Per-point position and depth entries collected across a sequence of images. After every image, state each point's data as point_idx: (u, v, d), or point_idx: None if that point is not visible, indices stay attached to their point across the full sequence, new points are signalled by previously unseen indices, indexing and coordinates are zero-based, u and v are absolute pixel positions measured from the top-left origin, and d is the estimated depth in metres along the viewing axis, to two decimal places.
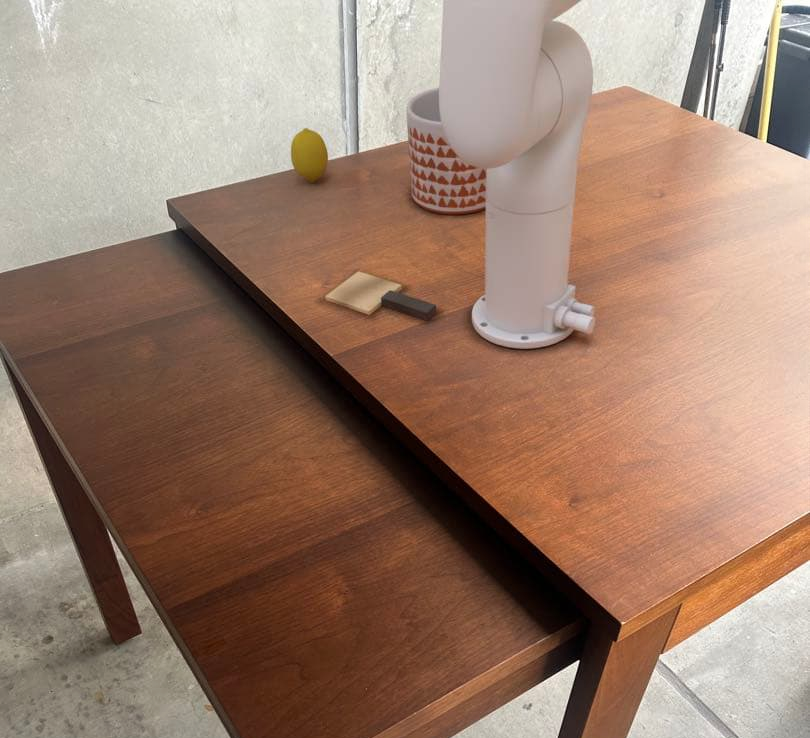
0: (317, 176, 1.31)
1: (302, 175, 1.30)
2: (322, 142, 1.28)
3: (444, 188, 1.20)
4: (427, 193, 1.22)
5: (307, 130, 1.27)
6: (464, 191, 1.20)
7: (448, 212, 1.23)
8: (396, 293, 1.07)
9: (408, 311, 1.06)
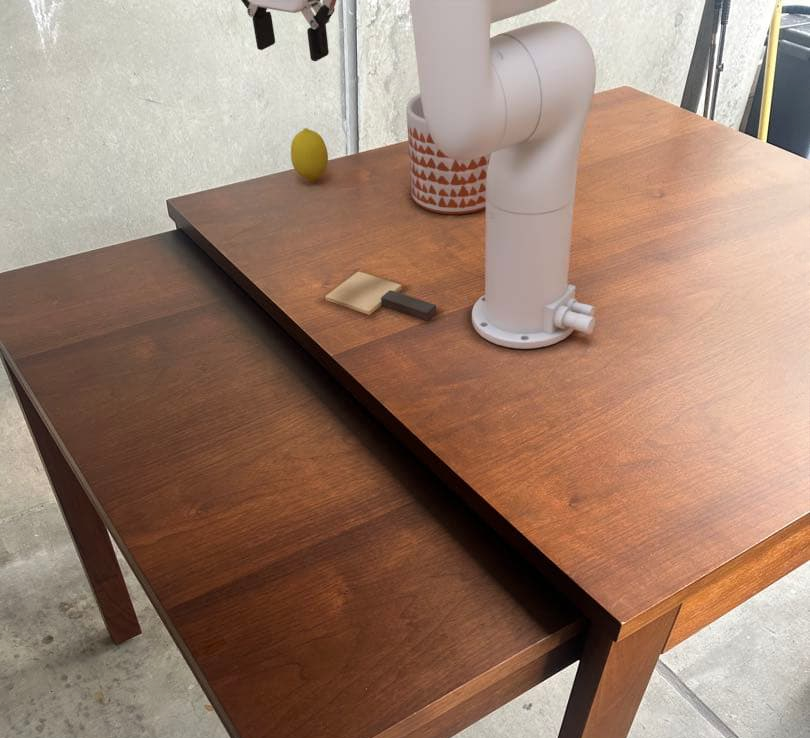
0: (317, 176, 1.31)
1: (302, 175, 1.30)
2: (322, 142, 1.28)
3: (444, 188, 1.20)
4: (427, 193, 1.22)
5: (307, 130, 1.27)
6: (464, 191, 1.20)
7: (448, 212, 1.23)
8: (396, 293, 1.07)
9: (408, 311, 1.06)
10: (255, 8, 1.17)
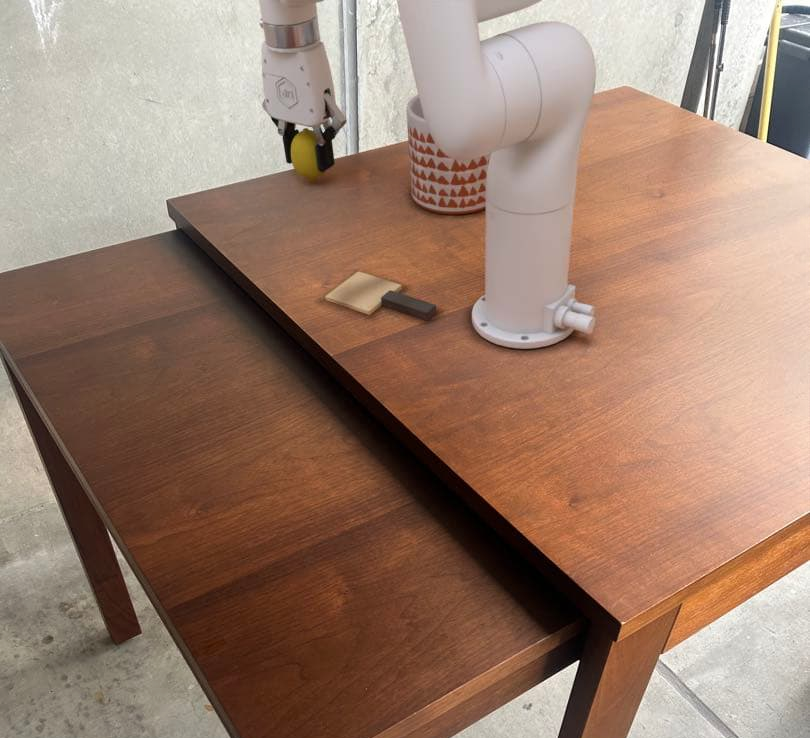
0: (317, 176, 1.31)
1: (302, 175, 1.30)
2: None
3: (444, 188, 1.20)
4: (427, 193, 1.22)
5: (307, 130, 1.27)
6: (464, 191, 1.20)
7: (448, 212, 1.23)
8: (396, 293, 1.07)
9: (408, 311, 1.06)
10: (285, 128, 1.28)
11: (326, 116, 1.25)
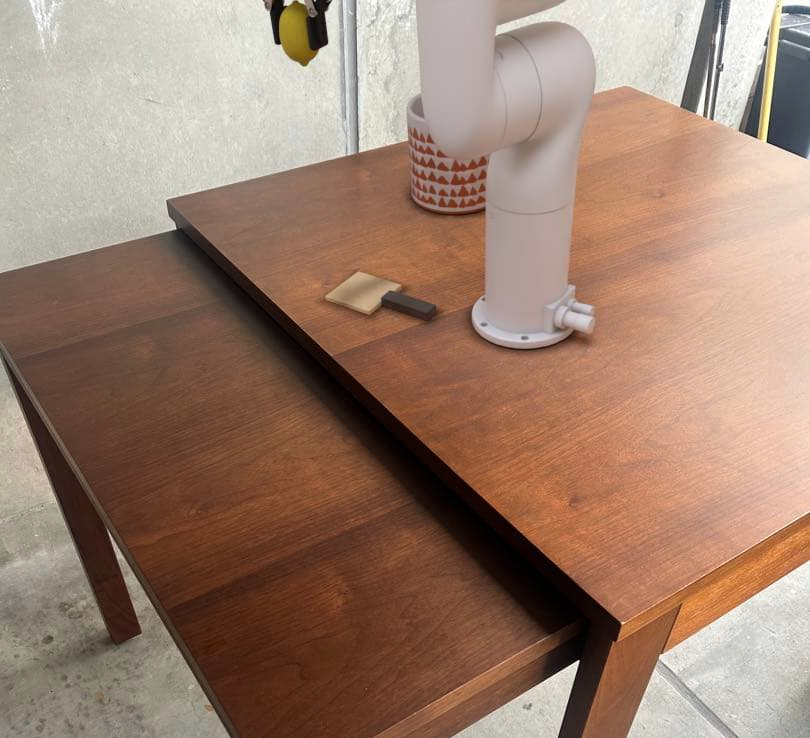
0: (309, 57, 1.16)
1: (292, 56, 1.16)
2: None
3: (444, 188, 1.20)
4: (427, 193, 1.22)
5: (297, 2, 1.13)
6: (464, 191, 1.20)
7: (448, 212, 1.23)
8: (396, 293, 1.07)
9: (408, 311, 1.06)
10: (272, 1, 1.14)
11: None
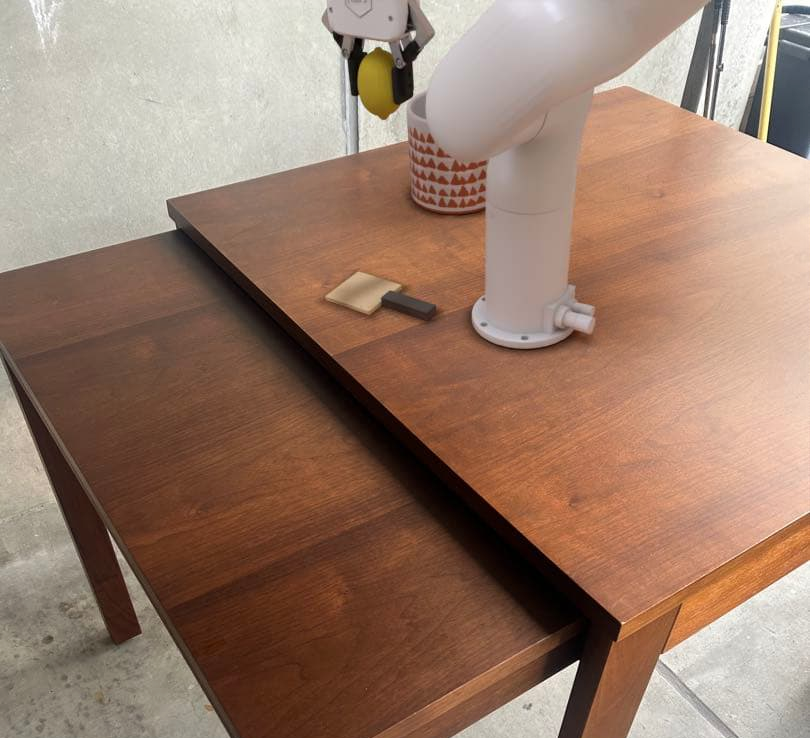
0: (391, 111, 1.02)
1: (372, 110, 1.02)
2: None
3: (444, 188, 1.20)
4: (427, 193, 1.22)
5: (380, 49, 0.99)
6: (464, 191, 1.20)
7: (448, 212, 1.23)
8: (396, 293, 1.07)
9: (408, 311, 1.06)
10: (351, 48, 0.99)
11: (407, 29, 0.96)
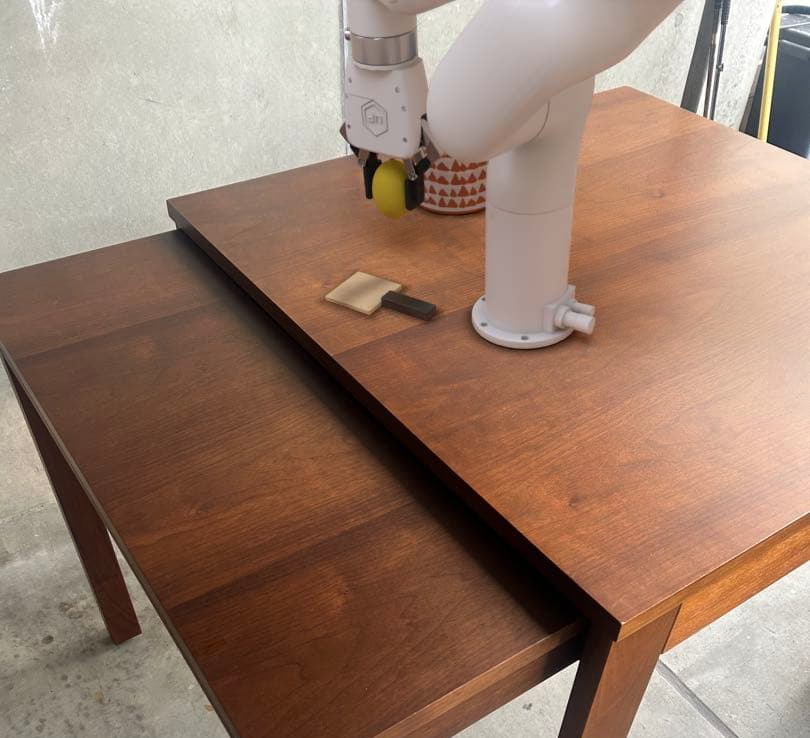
0: (403, 214, 1.10)
1: (385, 213, 1.10)
2: None
3: (444, 188, 1.20)
4: (427, 193, 1.22)
5: (394, 161, 1.06)
6: (464, 191, 1.20)
7: (448, 212, 1.23)
8: (396, 293, 1.07)
9: (408, 311, 1.06)
10: (367, 159, 1.07)
11: (419, 145, 1.04)
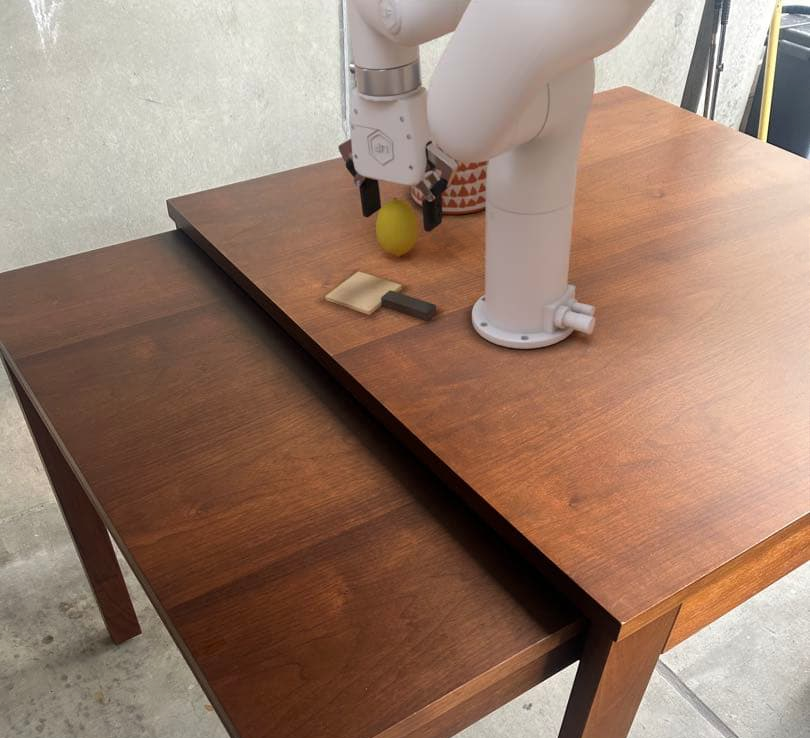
0: (405, 251, 1.14)
1: (388, 250, 1.13)
2: (413, 213, 1.11)
3: None
4: None
5: (397, 200, 1.10)
6: (464, 191, 1.20)
7: (448, 212, 1.23)
8: (396, 293, 1.07)
9: (408, 311, 1.06)
10: (363, 177, 1.09)
11: (430, 168, 1.05)
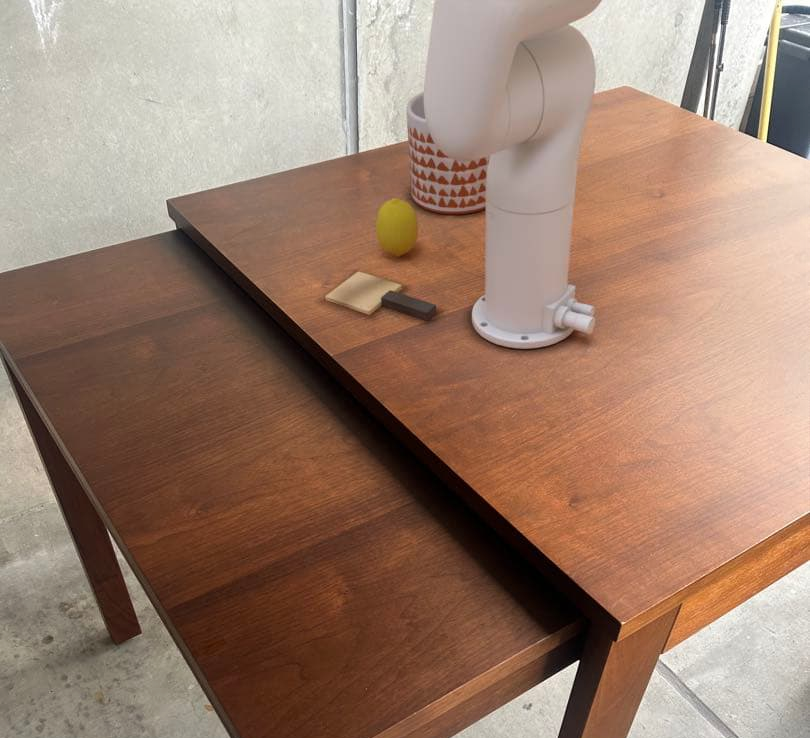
0: (405, 251, 1.14)
1: (388, 250, 1.13)
2: (413, 213, 1.11)
3: (444, 188, 1.20)
4: (427, 193, 1.22)
5: (397, 200, 1.10)
6: (464, 191, 1.20)
7: (448, 212, 1.23)
8: (396, 293, 1.07)
9: (408, 311, 1.06)
10: None
11: None
